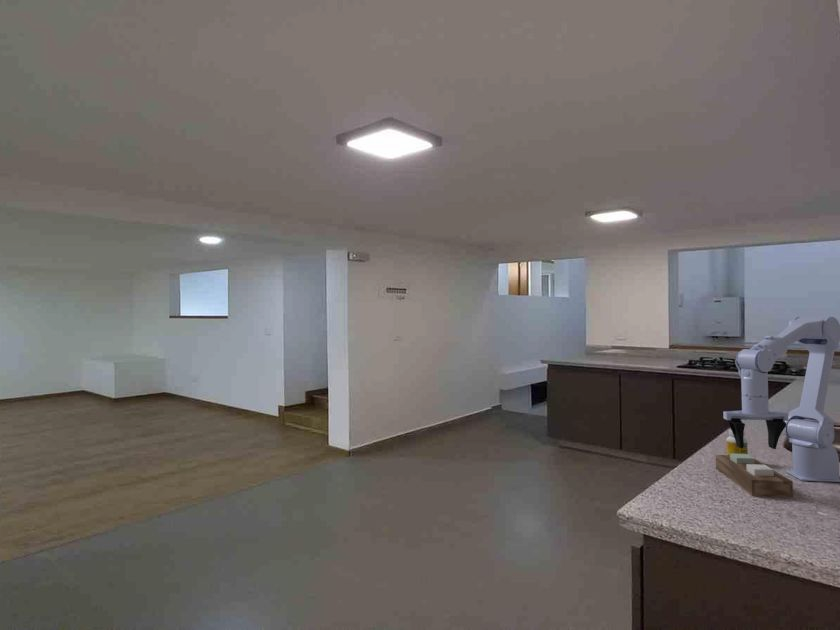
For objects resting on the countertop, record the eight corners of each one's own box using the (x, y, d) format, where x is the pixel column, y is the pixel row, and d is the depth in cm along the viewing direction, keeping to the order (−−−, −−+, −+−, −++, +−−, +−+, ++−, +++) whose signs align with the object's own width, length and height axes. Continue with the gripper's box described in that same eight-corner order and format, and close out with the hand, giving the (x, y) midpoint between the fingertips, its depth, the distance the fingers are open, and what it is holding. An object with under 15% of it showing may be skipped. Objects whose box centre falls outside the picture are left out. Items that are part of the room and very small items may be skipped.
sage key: (747, 464, 137) (747, 453, 137) (754, 469, 132) (754, 458, 132) (730, 464, 138) (729, 453, 138) (737, 468, 133) (736, 458, 133)
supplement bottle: (732, 458, 151) (731, 427, 151) (751, 462, 146) (750, 431, 146) (723, 461, 148) (722, 430, 148) (743, 466, 143) (742, 433, 143)
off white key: (765, 476, 127) (764, 464, 127) (774, 481, 123) (773, 470, 123) (746, 475, 128) (746, 464, 128) (754, 481, 123) (754, 469, 124)
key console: (750, 469, 140) (749, 455, 140) (793, 497, 118) (792, 481, 118) (716, 468, 142) (715, 454, 142) (752, 495, 120) (751, 479, 120)
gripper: (776, 393, 129) (778, 444, 129) (717, 392, 131) (719, 443, 131) (792, 397, 122) (794, 451, 122) (729, 397, 124) (731, 450, 124)
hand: (756, 447), depth 126 cm, fingers open, 7 cm apart
